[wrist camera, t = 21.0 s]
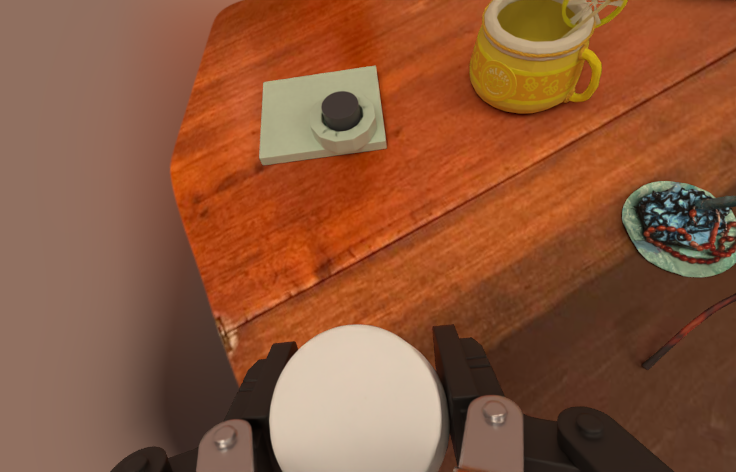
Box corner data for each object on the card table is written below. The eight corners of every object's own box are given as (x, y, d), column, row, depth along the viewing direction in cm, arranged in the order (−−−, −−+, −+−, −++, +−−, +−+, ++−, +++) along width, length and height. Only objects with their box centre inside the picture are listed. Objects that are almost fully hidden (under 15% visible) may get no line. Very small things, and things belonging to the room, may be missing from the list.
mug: (445, 91, 43) (455, -23, 32) (506, 36, 45) (534, -85, 35) (550, 150, 38) (603, 39, 27) (610, 85, 40) (680, -39, 30)
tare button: (325, 133, 38) (321, 121, 37) (324, 106, 40) (320, 93, 38) (361, 128, 38) (359, 115, 36) (359, 101, 40) (356, 88, 38)
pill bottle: (411, 345, 18) (409, 280, 10) (459, 460, 15) (501, 484, 8) (311, 385, 17) (233, 348, 10) (345, 508, 15) (278, 581, 8)
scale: (262, 171, 40) (251, 153, 38) (266, 90, 46) (257, 69, 43) (387, 154, 40) (385, 134, 37) (376, 73, 45) (374, 51, 42)
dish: (717, 155, 33) (761, 186, 26) (732, 229, 35) (775, 274, 28) (609, 185, 37) (624, 219, 30) (627, 250, 39) (645, 294, 32)
